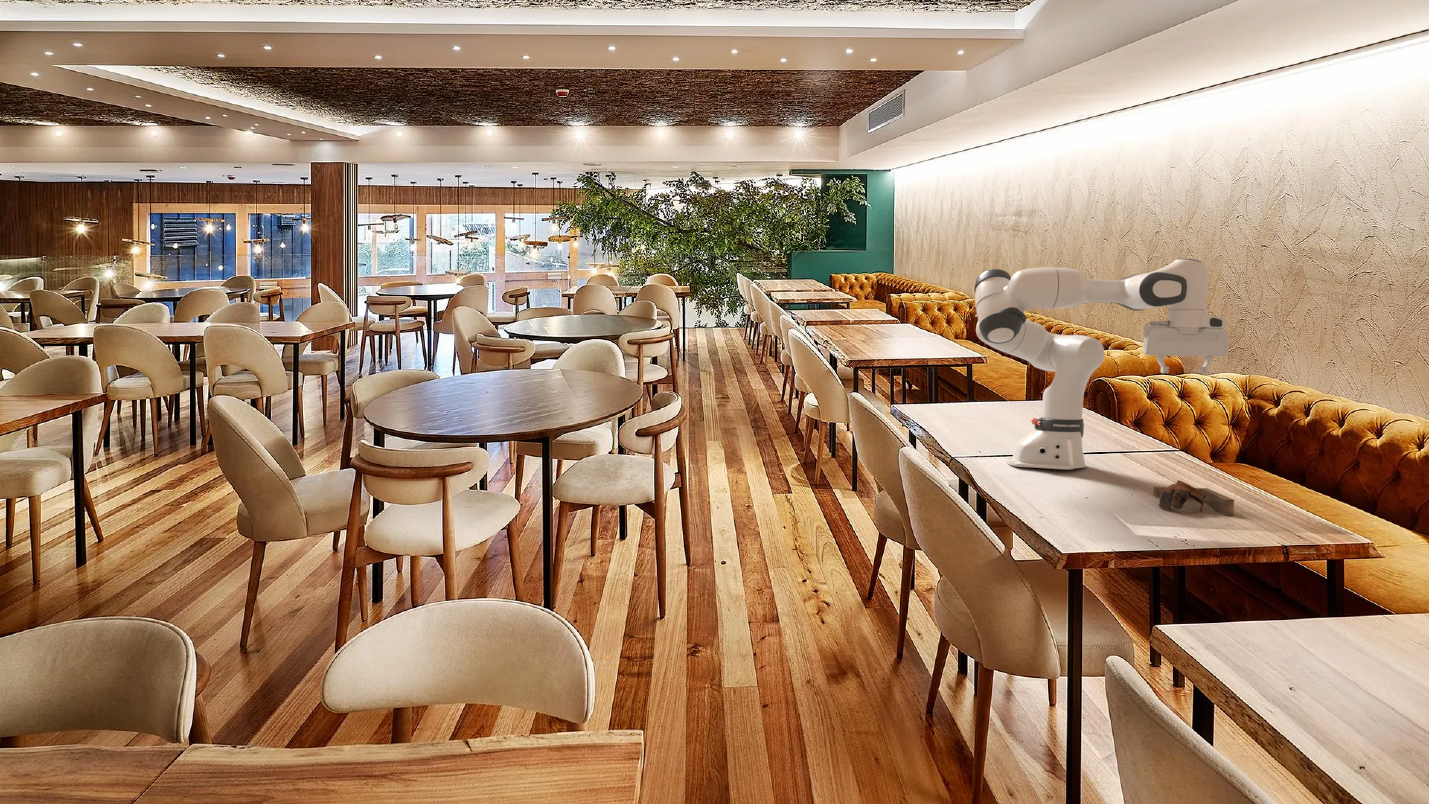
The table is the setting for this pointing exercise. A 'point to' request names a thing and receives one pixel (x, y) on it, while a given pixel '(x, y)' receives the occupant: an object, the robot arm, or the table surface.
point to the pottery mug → (1180, 496)
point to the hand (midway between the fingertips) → (1183, 373)
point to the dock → (1207, 500)
